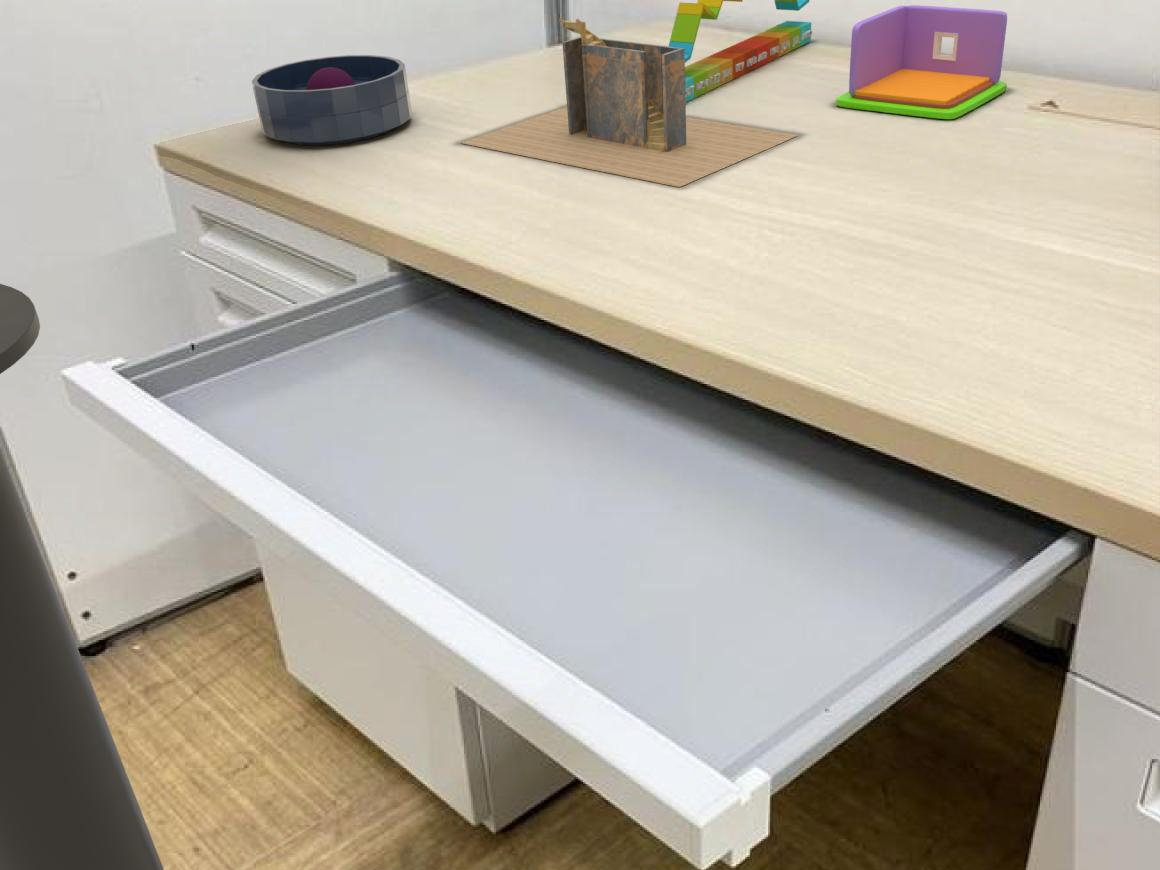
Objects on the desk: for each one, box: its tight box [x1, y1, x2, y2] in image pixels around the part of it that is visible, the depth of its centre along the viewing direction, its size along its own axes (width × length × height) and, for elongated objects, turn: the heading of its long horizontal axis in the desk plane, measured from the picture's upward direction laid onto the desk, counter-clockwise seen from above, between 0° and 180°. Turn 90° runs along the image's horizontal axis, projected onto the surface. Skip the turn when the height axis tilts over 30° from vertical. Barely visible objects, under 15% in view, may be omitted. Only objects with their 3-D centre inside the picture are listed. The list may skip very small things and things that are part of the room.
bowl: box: [251, 54, 413, 146], centre depth 116 cm, size 14×14×5 cm
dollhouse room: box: [835, 4, 1008, 120], centre depth 111 cm, size 12×12×7 cm
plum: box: [307, 67, 356, 90], centre depth 116 cm, size 5×5×5 cm
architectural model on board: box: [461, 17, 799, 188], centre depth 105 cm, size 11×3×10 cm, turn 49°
